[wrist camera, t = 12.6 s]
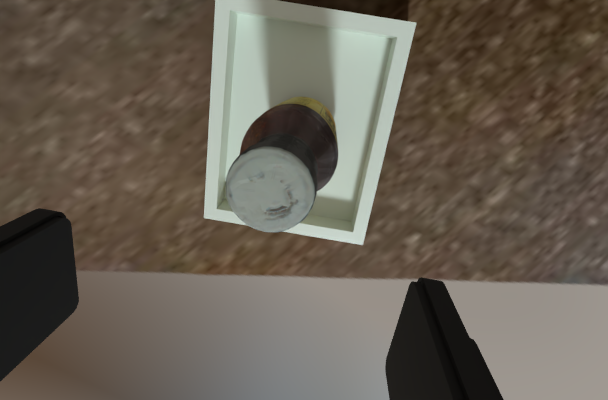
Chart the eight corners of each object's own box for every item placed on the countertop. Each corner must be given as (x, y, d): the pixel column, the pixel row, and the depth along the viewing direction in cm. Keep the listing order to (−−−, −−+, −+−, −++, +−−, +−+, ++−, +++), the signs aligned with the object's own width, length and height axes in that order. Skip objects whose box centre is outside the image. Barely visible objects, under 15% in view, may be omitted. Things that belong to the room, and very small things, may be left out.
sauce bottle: (327, 165, 35) (323, 280, 17) (266, 152, 35) (193, 252, 17) (343, 98, 33) (357, 146, 14) (277, 84, 33) (206, 113, 14)
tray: (407, 26, 31) (416, 22, 28) (360, 229, 39) (362, 245, 35) (227, -3, 32) (215, -10, 28) (214, 204, 39) (203, 217, 36)
